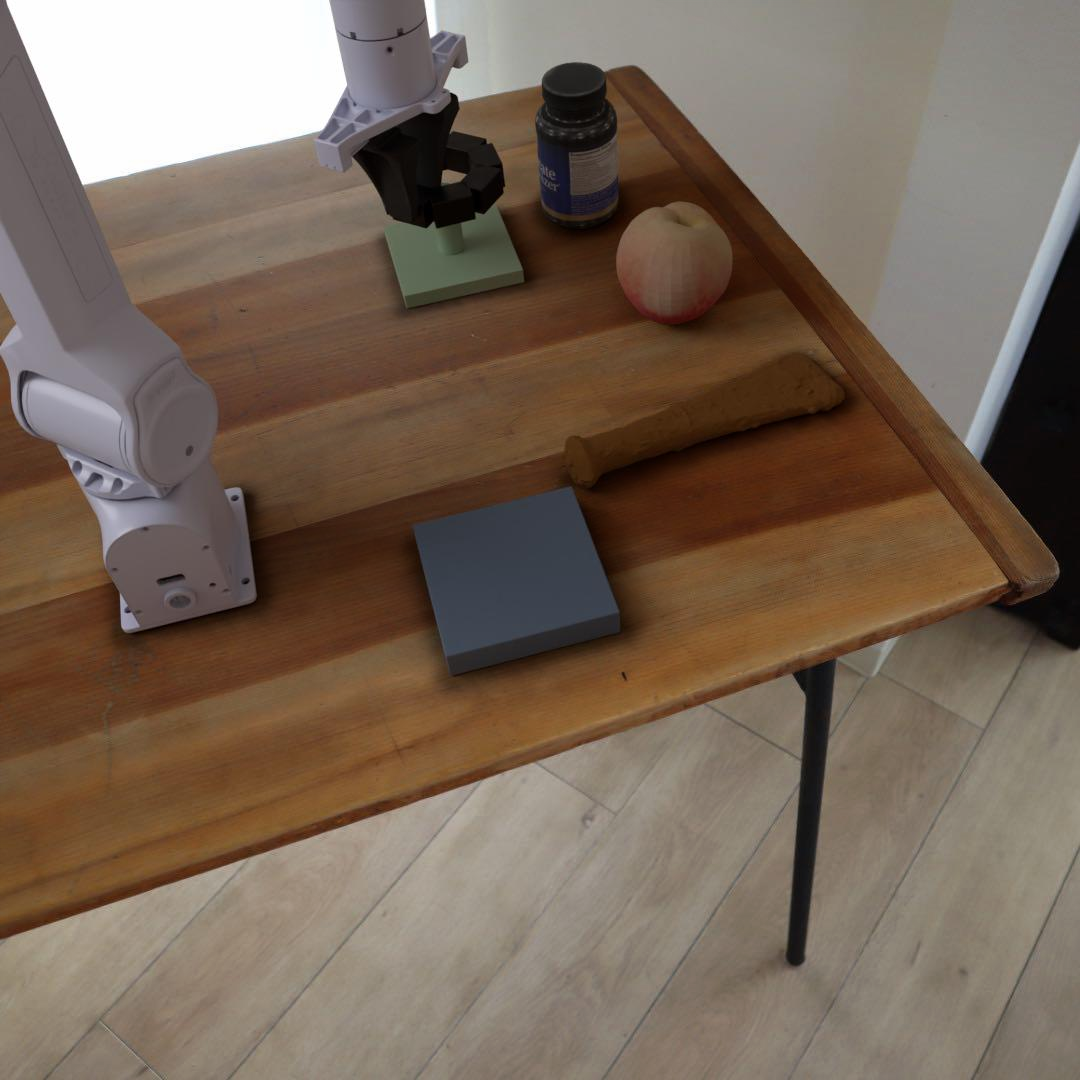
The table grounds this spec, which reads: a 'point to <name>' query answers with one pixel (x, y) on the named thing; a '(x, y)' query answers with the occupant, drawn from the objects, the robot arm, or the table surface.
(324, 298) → the table surface
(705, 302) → the fruit
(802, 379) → the primitive tool
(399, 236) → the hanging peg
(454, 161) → the black segmented ring
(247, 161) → the table surface
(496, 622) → the gray square coaster
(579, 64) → the pill bottle
